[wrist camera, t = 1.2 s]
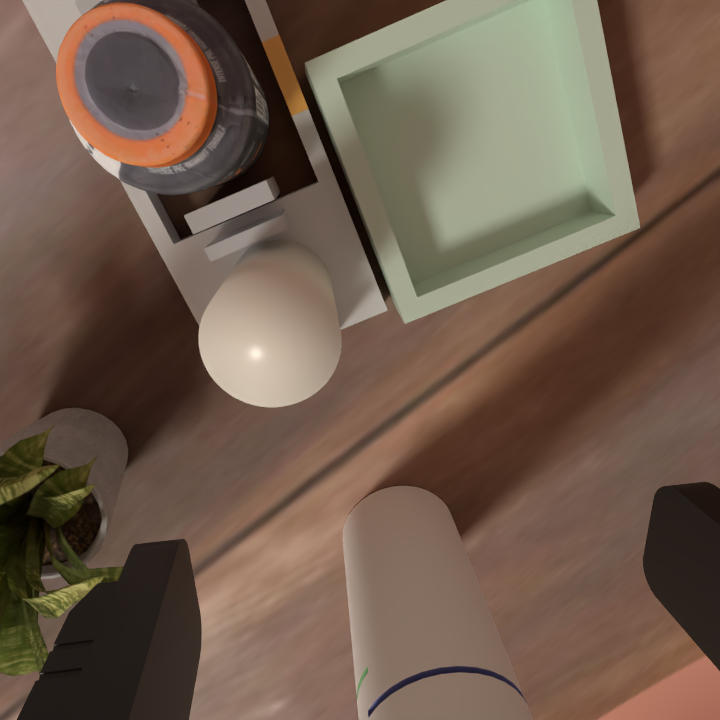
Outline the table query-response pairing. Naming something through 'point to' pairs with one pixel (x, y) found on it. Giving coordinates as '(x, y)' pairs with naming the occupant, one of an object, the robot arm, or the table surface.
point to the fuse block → (259, 254)
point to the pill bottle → (161, 95)
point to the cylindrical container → (421, 616)
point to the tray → (478, 143)
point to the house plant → (53, 523)
